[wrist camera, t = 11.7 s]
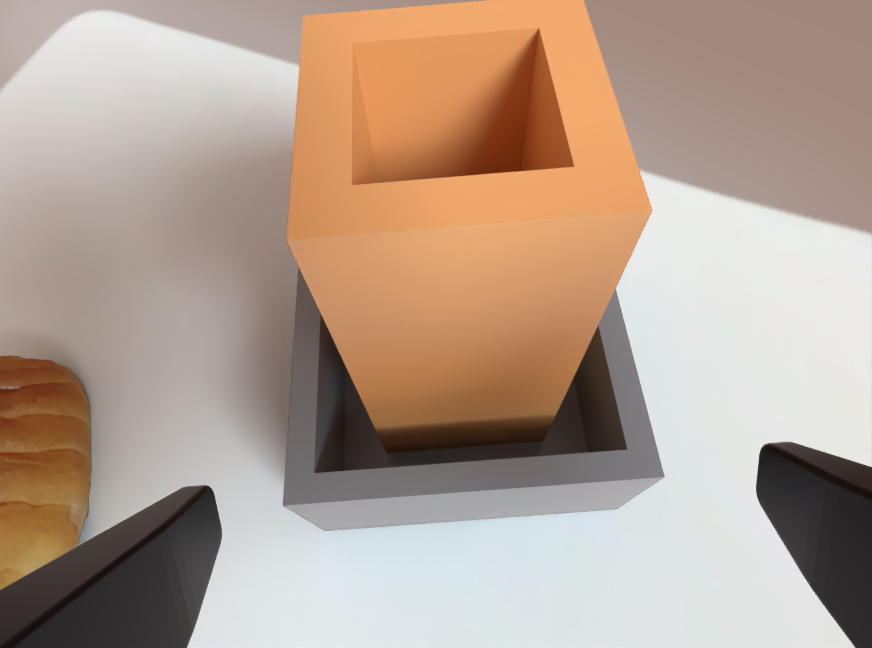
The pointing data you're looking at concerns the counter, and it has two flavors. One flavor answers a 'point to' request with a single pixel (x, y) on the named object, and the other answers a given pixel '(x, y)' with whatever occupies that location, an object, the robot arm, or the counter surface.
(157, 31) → the counter surface
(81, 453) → the pastry
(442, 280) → the orange hollow square block
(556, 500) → the grey crate
